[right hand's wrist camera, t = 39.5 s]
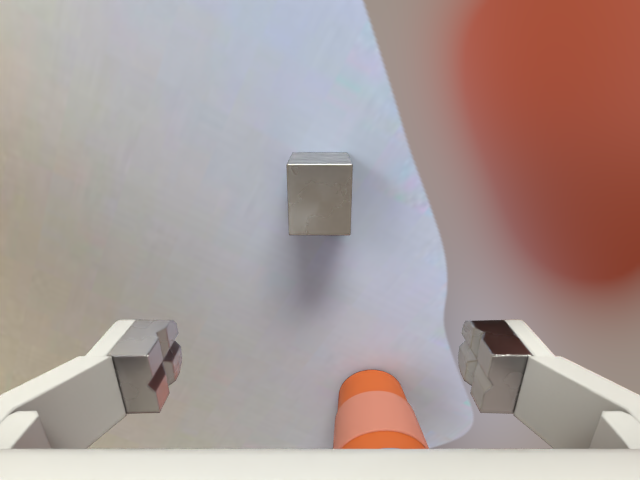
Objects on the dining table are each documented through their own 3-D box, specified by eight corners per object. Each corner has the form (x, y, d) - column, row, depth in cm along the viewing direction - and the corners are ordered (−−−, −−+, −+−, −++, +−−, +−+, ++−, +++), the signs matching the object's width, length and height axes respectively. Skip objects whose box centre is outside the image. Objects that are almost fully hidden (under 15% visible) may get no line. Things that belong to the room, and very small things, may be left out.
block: (293, 213, 29) (288, 235, 25) (292, 152, 28) (286, 164, 23) (346, 213, 29) (350, 235, 25) (347, 152, 27) (352, 164, 23)
